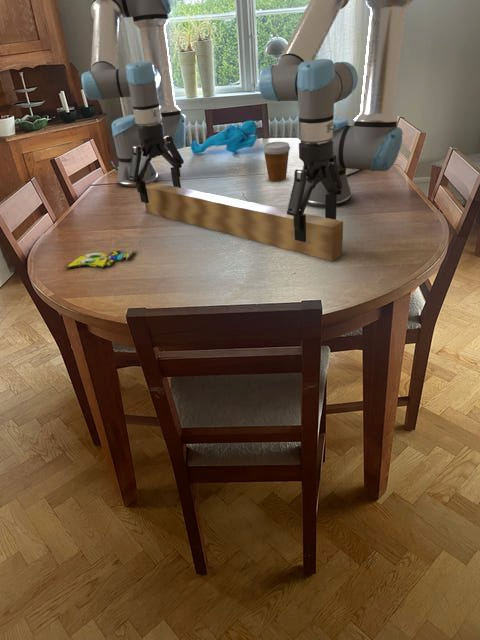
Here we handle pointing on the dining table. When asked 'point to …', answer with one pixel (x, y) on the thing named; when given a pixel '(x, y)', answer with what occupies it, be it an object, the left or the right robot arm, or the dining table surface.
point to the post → (246, 220)
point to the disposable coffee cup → (276, 160)
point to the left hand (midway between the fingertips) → (161, 195)
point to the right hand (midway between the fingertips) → (316, 230)
